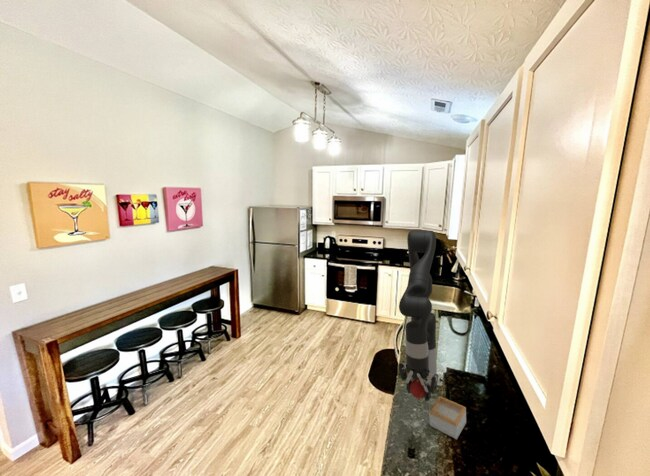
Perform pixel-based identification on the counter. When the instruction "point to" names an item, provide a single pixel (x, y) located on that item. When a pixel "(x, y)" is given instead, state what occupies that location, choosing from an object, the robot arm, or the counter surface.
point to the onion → (417, 389)
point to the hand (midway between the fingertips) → (418, 395)
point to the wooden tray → (447, 417)
